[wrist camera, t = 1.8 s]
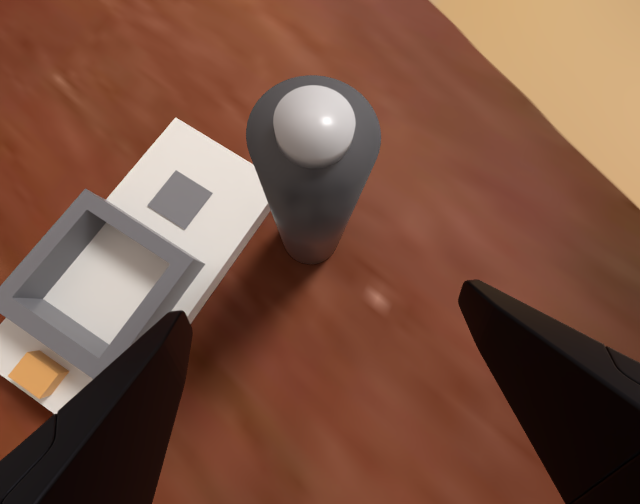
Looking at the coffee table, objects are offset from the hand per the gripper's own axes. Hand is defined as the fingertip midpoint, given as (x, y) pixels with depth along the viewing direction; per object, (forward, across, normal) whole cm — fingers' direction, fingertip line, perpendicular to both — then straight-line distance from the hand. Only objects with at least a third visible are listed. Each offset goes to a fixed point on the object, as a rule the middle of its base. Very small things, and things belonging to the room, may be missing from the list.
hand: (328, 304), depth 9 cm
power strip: (+11, +12, +5) cm, 17 cm away
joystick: (+12, 0, +5) cm, 13 cm away
